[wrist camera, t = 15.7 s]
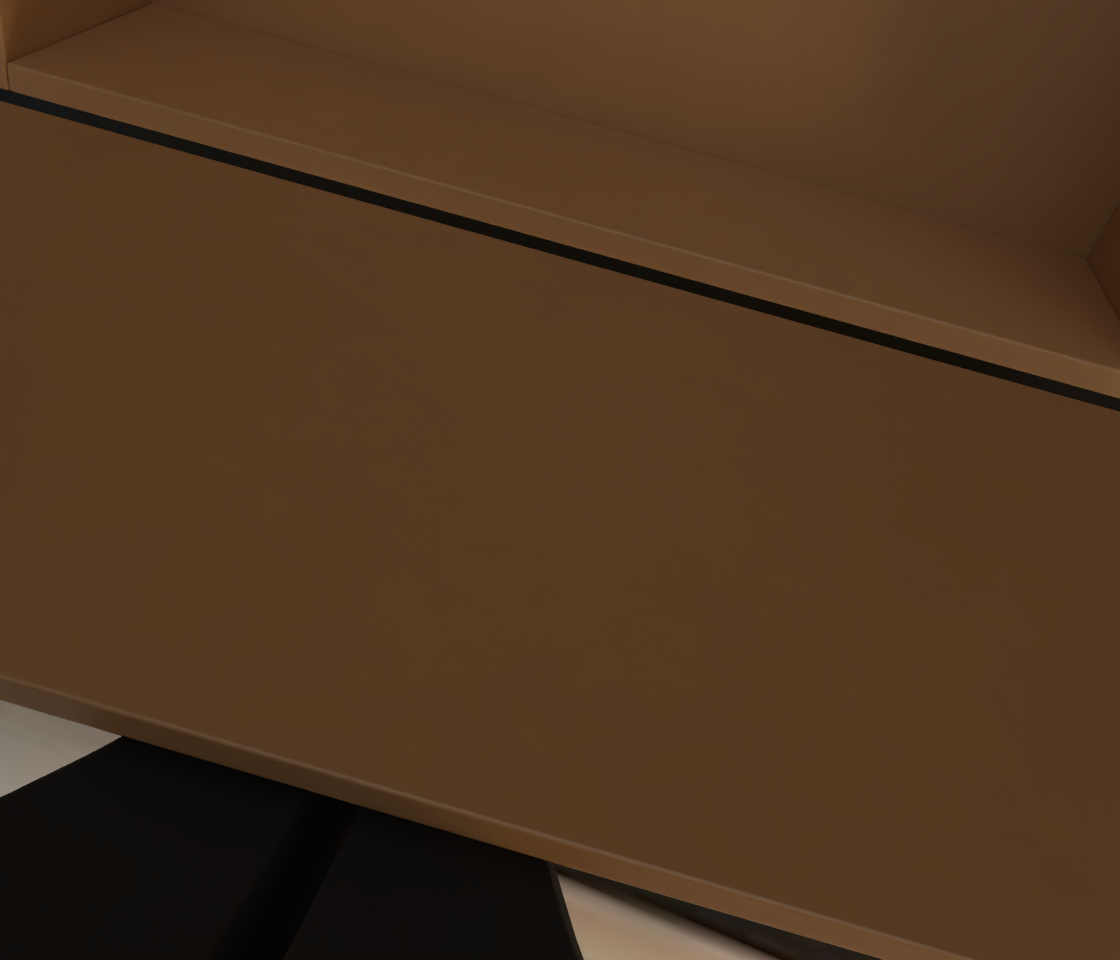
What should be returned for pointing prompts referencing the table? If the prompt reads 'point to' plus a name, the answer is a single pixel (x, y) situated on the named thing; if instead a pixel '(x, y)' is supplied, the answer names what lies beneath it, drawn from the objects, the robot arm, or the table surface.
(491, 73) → the carton
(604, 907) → the table surface
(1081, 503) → the flap
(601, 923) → the table surface
